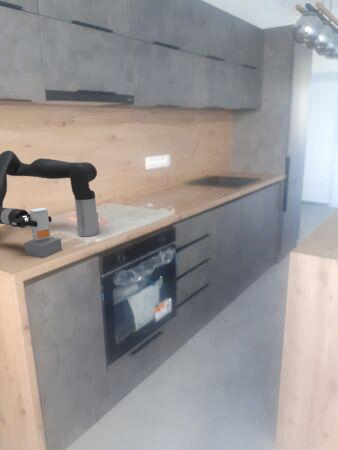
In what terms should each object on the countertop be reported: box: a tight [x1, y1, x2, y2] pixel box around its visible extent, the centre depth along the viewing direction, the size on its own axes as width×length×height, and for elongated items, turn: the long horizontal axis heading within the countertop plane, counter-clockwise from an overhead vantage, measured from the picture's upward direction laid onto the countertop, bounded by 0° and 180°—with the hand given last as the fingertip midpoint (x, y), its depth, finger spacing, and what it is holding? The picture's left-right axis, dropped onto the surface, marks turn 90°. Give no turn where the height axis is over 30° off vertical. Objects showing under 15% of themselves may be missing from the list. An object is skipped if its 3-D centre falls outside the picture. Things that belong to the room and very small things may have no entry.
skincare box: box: [29, 207, 51, 240], centre depth 148 cm, size 6×4×12 cm
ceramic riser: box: [23, 236, 63, 259], centre depth 150 cm, size 10×10×5 cm
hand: (43, 221), depth 146 cm, fingers closed on skincare box, 7 cm apart
